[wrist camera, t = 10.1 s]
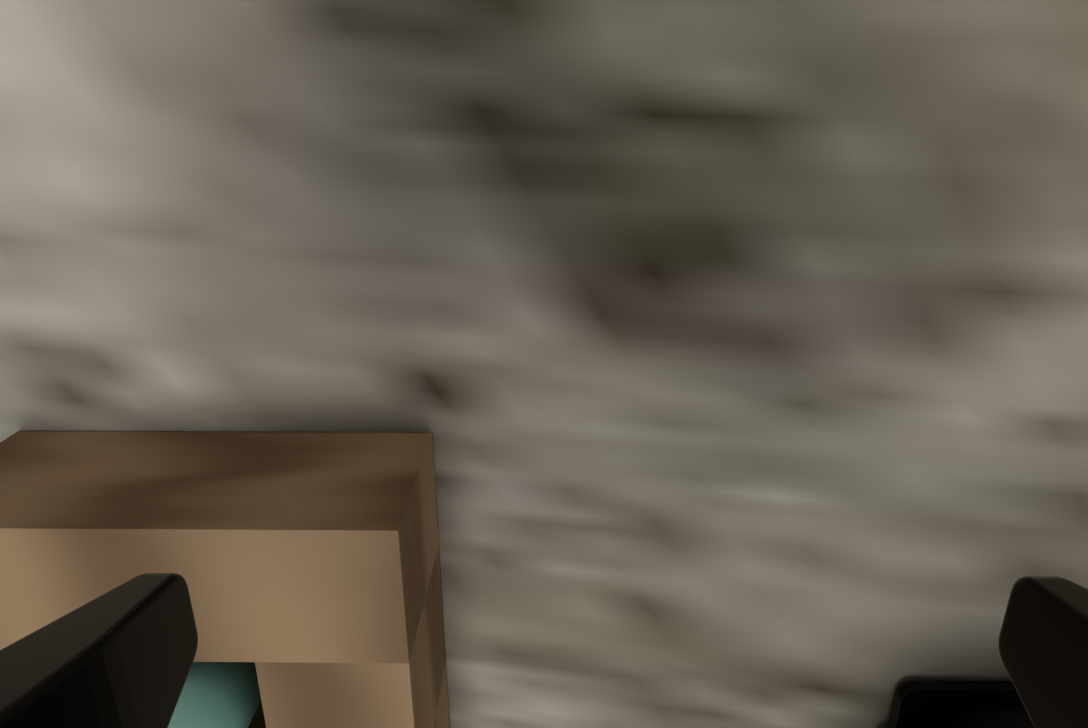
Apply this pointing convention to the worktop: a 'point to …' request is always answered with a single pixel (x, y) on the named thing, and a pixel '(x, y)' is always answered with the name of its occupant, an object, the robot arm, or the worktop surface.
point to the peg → (218, 696)
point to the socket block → (247, 556)
